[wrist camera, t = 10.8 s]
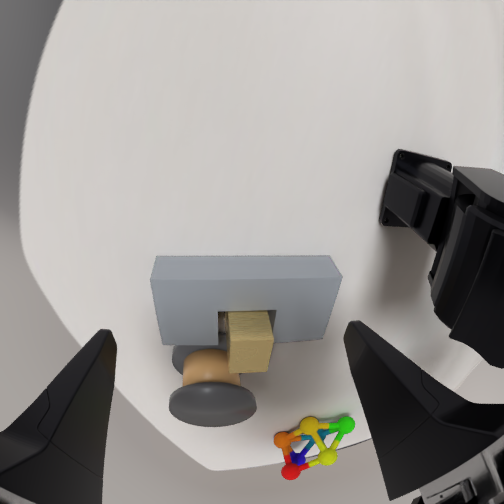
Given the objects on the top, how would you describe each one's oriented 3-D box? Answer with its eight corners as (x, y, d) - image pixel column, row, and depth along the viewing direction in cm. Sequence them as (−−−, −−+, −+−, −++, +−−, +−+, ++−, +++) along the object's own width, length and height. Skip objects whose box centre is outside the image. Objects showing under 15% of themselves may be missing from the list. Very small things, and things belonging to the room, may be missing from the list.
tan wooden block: (261, 286, 24) (274, 339, 19) (256, 319, 26) (266, 371, 21) (226, 286, 24) (230, 340, 19) (224, 320, 26) (228, 373, 21)
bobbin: (251, 330, 27) (260, 387, 22) (246, 375, 31) (253, 425, 26) (167, 331, 26) (162, 389, 20) (177, 376, 30) (175, 426, 25)
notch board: (329, 255, 23) (342, 276, 21) (313, 316, 27) (322, 339, 25) (156, 255, 22) (150, 279, 19) (166, 320, 25) (162, 344, 23)
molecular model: (331, 408, 48) (287, 467, 43) (300, 389, 46) (250, 454, 41) (371, 428, 38) (321, 496, 33) (342, 410, 36) (283, 488, 31)
